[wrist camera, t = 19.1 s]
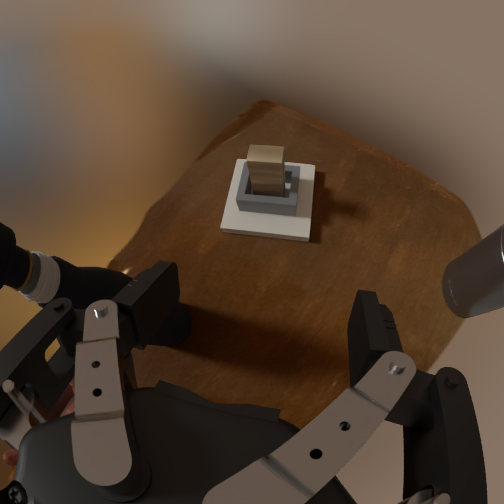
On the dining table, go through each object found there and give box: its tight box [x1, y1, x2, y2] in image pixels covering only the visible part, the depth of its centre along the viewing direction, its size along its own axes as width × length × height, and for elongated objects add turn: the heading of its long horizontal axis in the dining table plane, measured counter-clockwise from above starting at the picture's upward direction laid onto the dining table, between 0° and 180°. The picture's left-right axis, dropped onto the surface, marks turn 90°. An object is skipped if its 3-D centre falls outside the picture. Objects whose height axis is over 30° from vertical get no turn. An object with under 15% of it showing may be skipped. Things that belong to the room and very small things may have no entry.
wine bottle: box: [0, 222, 191, 346], centre depth 22 cm, size 6×6×30 cm
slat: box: [246, 145, 285, 198], centre depth 34 cm, size 2×4×9 cm, turn 80°
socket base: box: [220, 159, 315, 242], centre depth 38 cm, size 12×12×4 cm
